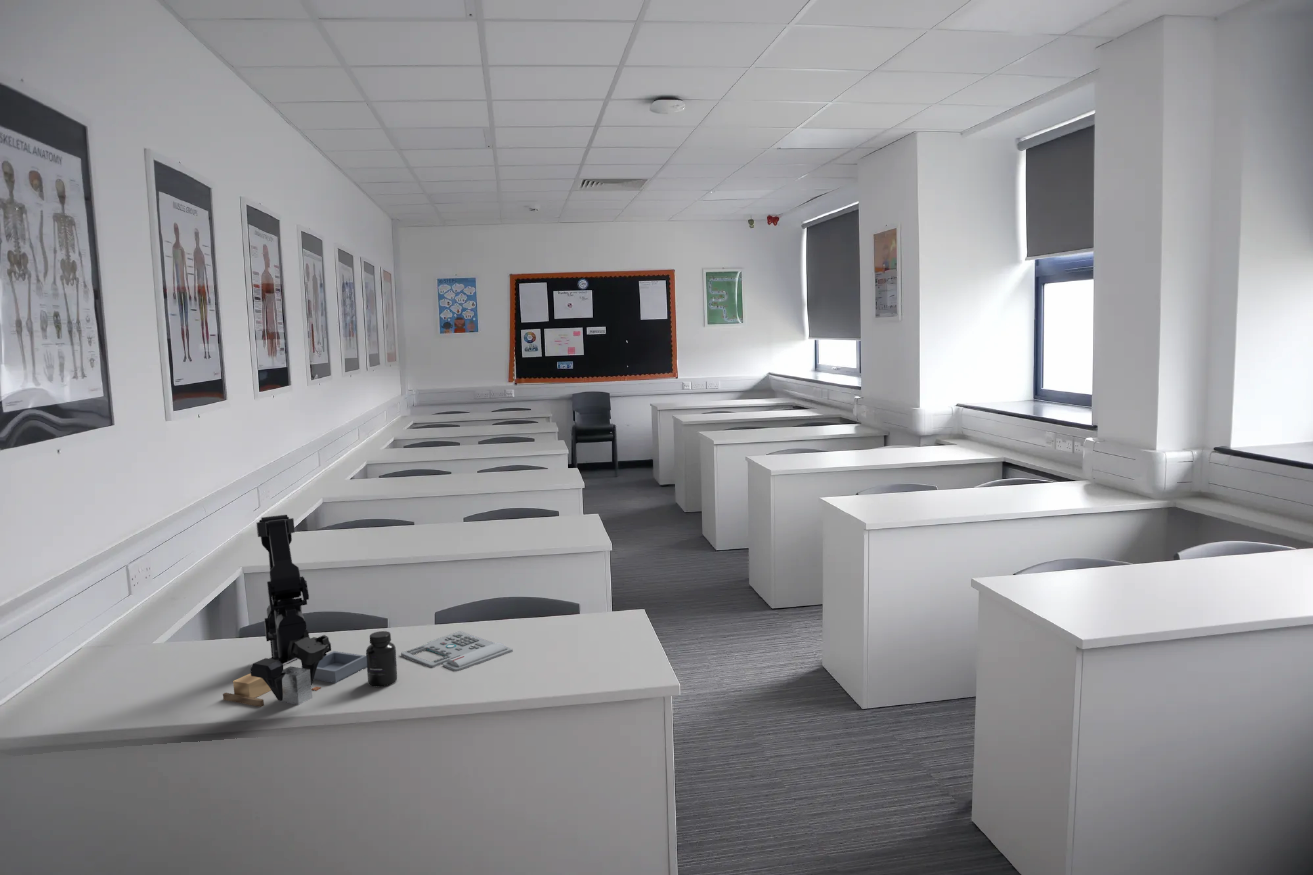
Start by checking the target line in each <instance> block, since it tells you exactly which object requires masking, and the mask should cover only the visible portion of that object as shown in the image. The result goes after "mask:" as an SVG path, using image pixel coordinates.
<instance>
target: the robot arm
mask: <svg viewBox="0 0 1313 875" xmlns="http://www.w3.org/2000/svg"><path fill="white" fill-rule="evenodd" d="M295 530H296V529H295V522H294V518H293V517H292V518H290V517H289V516H288V514H281V515H271V516H262V517H261V518H260V520H259V522H256V534H257V537H258V538H260V541H261V545H262V546H263V548H264V549H265V550H266V551H267V552H268V562H269V581H266V584H267V585H266V586H267V595H268V603H269V605H268V607H267V608H266V617H265V618H264V632H265V634H264V635H265V639H266V642H269V644H270V651H271V652H270V653H271V657H269V658H267V657H265V658H262V659H260V660H258V661H255V662H254V663H252V664H251V666H250V668H249V669H250V673H251V676H254V677H259V678H262V679H263V680H264V681H265V682H266V683H267V685H268V686H269V687H270V689H271V692H272V694H273V696H275V698H276V699H277V701H279V702H281V701H282V700H283V688H282V678H283V677H284V676H285V674H286V673H282V671H283V670H284V666H285V665H287V664H290V663H292V662H294V661H296V660H300V663H301V666H302V667H303V668H304V669H310V677H311V687H312V686H313V684H314V681H315V680H314V676H315V672H316V669H317V666H318V663H319V661H320V660H322V659H323V657H325V656H326V655H327V654H328V653H330V652H332V643H331V642H330V639H329V636H327V635H326V634H323V635H320V636H318V637H314V636H313V637H310V634H309V631H308V629H307V622H306V619H305V617H304V614H303V610H302V606H306V605H308V602H307V600H309V599H310V594H309V589H308V583H307V580H306V579H305V577H304V575H303V576H302V575H301V573H300V568H299V566H297V565H296V564H295V563H293V561H292V560H293V559H292V553H291V547H290V545H291V543H292V540H293V539H292V538H293V537H292V534H293V533H296V531H295ZM301 596H302V597H301ZM302 667H301V668H302Z"/></svg>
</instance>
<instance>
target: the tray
mask: <svg viewBox="0 0 1313 875" xmlns="http://www.w3.org/2000/svg"><path fill="white" fill-rule="evenodd" d="M326 654H327V655H326V656H325V657H323V659H322V660H320V661H319V663H318V666H317V669H316V672H315V676H314V680H313V681H321V682H327V683H332V684H333V683H334V684H337V683H339V682H341V681H343V680H344V679H347V678H349V677H352V676H353V675H355V674H356V673H359V672H361V671H362V669H363V670H364V669H367V659H366V654H365V655H363V654H357V653H356V654H355V653H349V652H344V651H342V652H341V651H336V650H333V651H330V652H328V653H326ZM300 668H303V667H302V665H301V667H300ZM358 671H359V672H358Z"/></svg>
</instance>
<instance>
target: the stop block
mask: <svg viewBox="0 0 1313 875" xmlns="http://www.w3.org/2000/svg"><path fill="white" fill-rule="evenodd" d="M282 673H286V674H285V676H284V677H283V678H282V688H283V700H282V701H280V702H281V703H286V702H287V703H288V704H293V705H297V706H299V705H302V704H303V703H305V702H308V701H309V700H311V699H313V692H312V691H313V690H312V686H311V677H310V669H304V668H302V667H298V666H297V667H296V666H292V665H290V666H288V667H286V668H283V671H282Z"/></svg>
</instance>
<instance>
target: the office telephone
mask: <svg viewBox="0 0 1313 875" xmlns="http://www.w3.org/2000/svg"><path fill="white" fill-rule="evenodd" d="M424 650H425V651H429V650H430V651H429V652H432V653H435V652H436V654H438V655H440V656H443V657H441V658H437V659H435V660H433V661H430V660H428V659H424V658H422V657H418V656H416V655H417V654H419V653H418V652H420V653H422V651H423V652H425V651H424ZM512 652H513V648H511V647H508V646H507V645H506V644H504V643H502V642H493V641H490V640H488V639H484V638H481V637H478V636H475V635H472V634H470V633H467V632H465V631H462V630H459V631H455V632H453V633H450V634H447V635H444V636H441V637H438V638H436V639H433V640H430V641H428V642H427V643H425V644H423V645H419V646H416V647H414V648H411V649H408V650H406V651H401V652H400V655H401V657H402V656H403V658H404V659H407V658H408V659H407V660H410V661H412V660H413V662H415V663H417V662H419V663H418V664H420V665H423V666H426V667H428V666H429V667H428V668H431V669H432V668H435V667H438V666H441V665H442V667H443V668H446V669H448V670H451V671H453V672H459V671H463V670H465V669H467V668H470V667H473V666H476V665H478V664H479V665H480V664H481V663H485V662H487V661H490V660H493V659H495V658H498V657H501V656H504V655H506V654H510V653H512ZM416 653H417V654H416ZM413 654H414V655H413ZM440 664H441V665H440Z"/></svg>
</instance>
